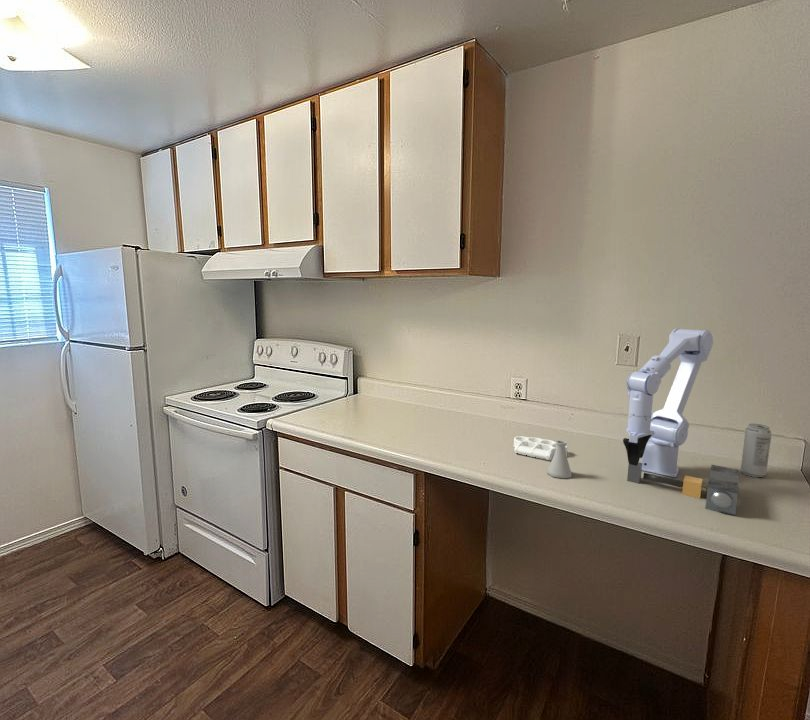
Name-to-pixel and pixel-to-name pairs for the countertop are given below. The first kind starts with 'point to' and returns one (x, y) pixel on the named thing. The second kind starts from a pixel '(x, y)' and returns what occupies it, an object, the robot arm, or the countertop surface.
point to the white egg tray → (535, 447)
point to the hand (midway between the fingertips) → (635, 460)
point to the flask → (560, 462)
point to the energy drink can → (756, 450)
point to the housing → (722, 489)
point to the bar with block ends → (668, 481)
